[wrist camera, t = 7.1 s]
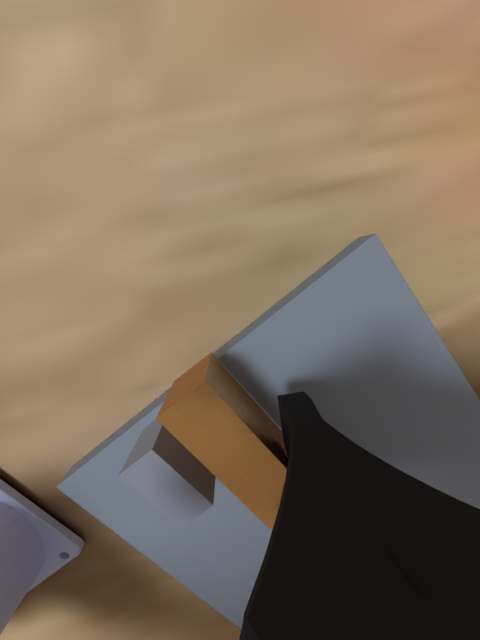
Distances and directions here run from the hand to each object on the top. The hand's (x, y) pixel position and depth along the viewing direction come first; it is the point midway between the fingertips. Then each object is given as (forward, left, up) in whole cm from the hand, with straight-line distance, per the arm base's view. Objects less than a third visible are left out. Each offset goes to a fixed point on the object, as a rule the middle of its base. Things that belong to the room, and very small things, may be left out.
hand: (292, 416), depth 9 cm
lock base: (-2, -7, -3) cm, 7 cm away
